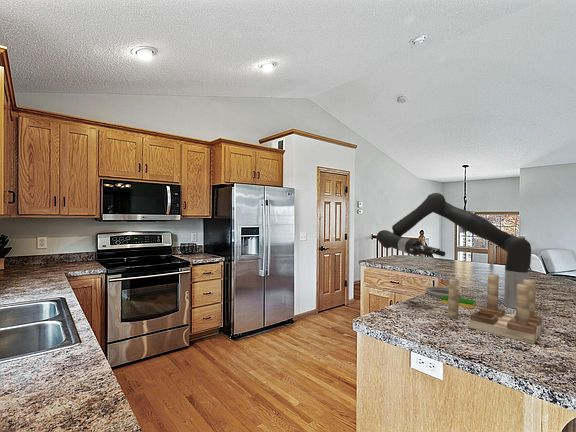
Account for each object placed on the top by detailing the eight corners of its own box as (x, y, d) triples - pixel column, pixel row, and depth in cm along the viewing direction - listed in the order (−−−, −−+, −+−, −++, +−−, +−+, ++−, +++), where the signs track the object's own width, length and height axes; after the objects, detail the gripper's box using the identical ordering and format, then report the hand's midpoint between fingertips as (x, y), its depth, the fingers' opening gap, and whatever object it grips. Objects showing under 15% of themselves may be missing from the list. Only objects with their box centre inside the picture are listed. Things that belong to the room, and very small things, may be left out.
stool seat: (483, 316, 137) (485, 272, 136) (542, 329, 122) (544, 280, 122) (469, 327, 123) (470, 278, 122) (533, 343, 108) (535, 288, 108)
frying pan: (464, 286, 183) (457, 295, 161) (464, 291, 183) (457, 301, 161) (432, 282, 193) (422, 290, 170) (432, 286, 193) (421, 295, 170)
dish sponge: (443, 300, 162) (443, 295, 162) (474, 305, 154) (474, 300, 154) (440, 303, 156) (441, 298, 156) (473, 308, 148) (473, 303, 148)
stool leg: (453, 315, 137) (454, 278, 136) (460, 318, 133) (461, 280, 133) (445, 316, 136) (446, 279, 135) (452, 319, 132) (453, 281, 132)
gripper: (400, 238, 152) (428, 246, 138) (421, 238, 159) (450, 246, 144) (398, 253, 153) (426, 262, 139) (418, 253, 159) (447, 262, 145)
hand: (438, 254), depth 141 cm, fingers open, 8 cm apart
